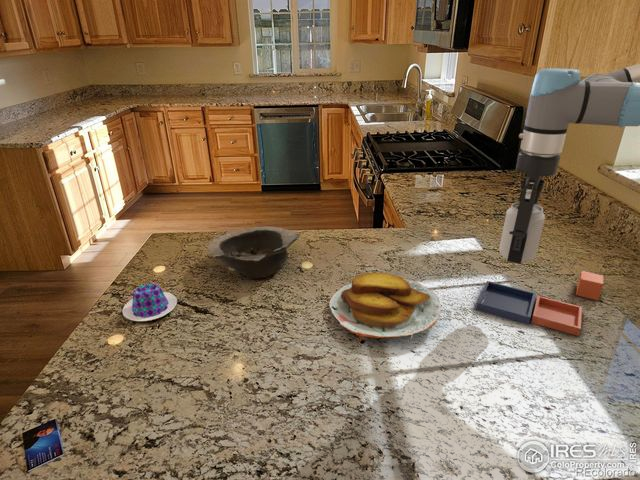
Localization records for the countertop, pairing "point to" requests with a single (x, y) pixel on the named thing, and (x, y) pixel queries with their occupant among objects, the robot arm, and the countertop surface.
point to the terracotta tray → (557, 315)
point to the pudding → (149, 303)
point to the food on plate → (385, 306)
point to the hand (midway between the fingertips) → (516, 253)
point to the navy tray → (506, 302)
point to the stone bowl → (253, 250)
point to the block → (589, 285)
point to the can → (532, 235)
